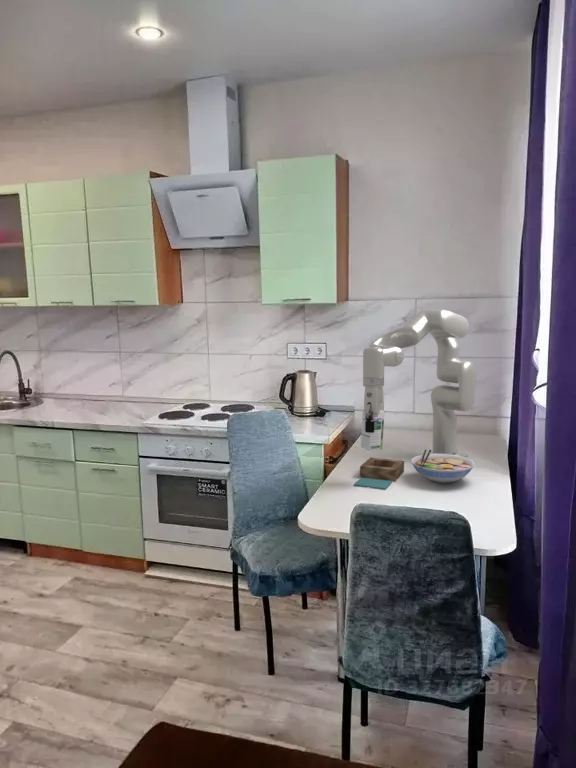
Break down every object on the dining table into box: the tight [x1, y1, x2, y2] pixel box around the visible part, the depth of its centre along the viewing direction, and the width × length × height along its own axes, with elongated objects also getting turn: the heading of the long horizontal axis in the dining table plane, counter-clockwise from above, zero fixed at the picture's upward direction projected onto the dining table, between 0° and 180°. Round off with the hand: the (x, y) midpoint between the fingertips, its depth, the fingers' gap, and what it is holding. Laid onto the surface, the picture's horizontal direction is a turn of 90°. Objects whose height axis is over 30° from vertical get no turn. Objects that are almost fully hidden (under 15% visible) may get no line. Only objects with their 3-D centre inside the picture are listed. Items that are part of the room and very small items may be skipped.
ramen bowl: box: [411, 449, 475, 484], centre depth 223 cm, size 25×23×8 cm
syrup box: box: [360, 408, 386, 452], centre depth 217 cm, size 6×6×14 cm
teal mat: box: [353, 477, 393, 491], centre depth 220 cm, size 12×9×1 cm
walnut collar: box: [359, 456, 405, 483], centre depth 231 cm, size 14×14×4 cm
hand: (373, 429), depth 217 cm, fingers closed on syrup box, 7 cm apart
